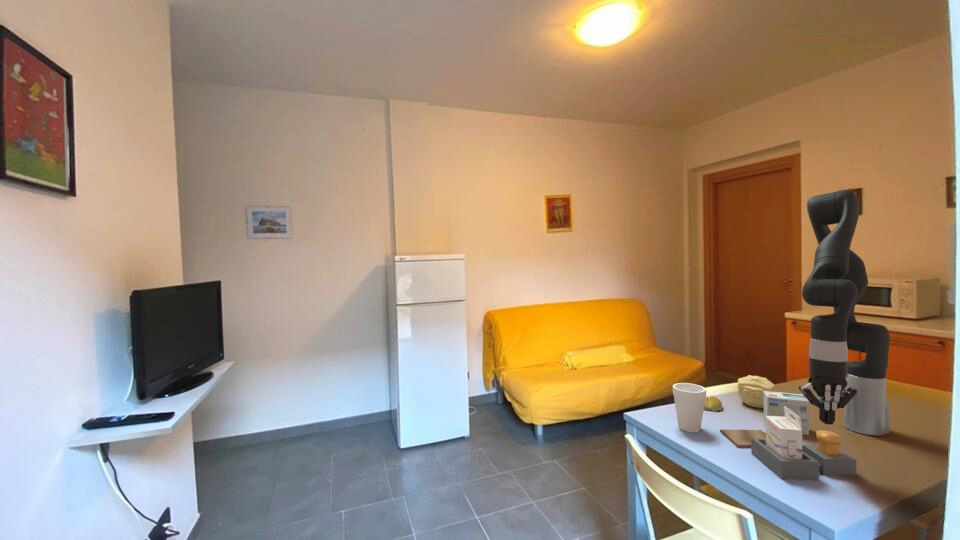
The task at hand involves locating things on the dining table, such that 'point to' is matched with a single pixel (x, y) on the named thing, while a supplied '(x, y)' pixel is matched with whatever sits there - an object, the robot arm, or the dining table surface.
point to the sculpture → (754, 390)
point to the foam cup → (689, 405)
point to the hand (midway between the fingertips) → (826, 423)
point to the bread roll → (712, 404)
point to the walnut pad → (743, 436)
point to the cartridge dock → (803, 462)
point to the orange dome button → (828, 442)
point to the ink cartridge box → (785, 435)
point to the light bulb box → (794, 402)
